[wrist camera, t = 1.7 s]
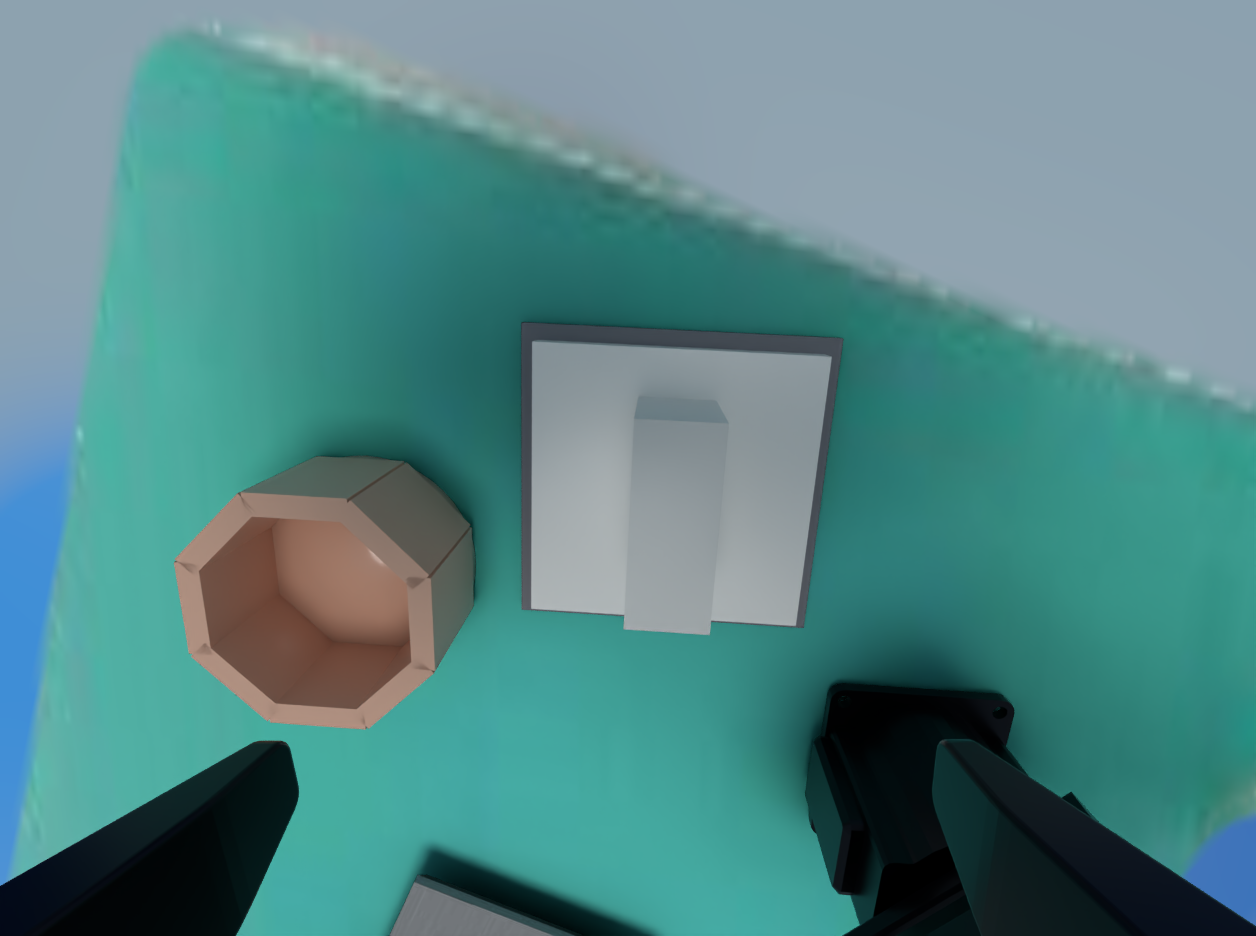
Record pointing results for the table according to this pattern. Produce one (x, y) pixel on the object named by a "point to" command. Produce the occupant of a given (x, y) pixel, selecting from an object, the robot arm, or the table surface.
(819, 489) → the mat
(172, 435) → the table surface
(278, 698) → the bowl
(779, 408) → the lid
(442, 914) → the electrical outlet
